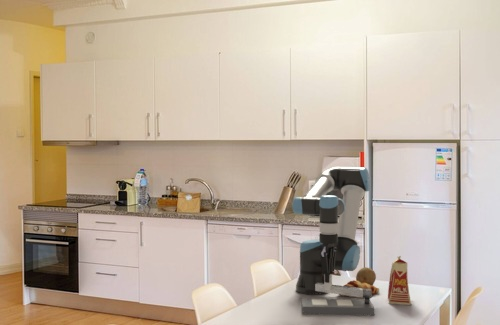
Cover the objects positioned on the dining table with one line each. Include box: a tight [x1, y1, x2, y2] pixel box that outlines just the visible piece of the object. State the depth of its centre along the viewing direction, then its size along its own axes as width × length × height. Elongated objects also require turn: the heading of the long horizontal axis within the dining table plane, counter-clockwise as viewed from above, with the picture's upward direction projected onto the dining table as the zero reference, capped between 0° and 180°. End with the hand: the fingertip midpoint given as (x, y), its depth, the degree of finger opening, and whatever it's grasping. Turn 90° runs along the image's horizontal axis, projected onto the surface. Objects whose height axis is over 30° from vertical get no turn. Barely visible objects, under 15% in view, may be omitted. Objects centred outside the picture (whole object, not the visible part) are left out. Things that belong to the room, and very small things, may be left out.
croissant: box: [338, 279, 380, 298], centre depth 251 cm, size 21×10×8 cm, turn 107°
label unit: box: [301, 297, 376, 316], centre depth 226 cm, size 12×28×5 cm, turn 87°
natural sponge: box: [355, 267, 377, 286], centre depth 261 cm, size 9×9×10 cm
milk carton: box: [387, 255, 412, 306], centre depth 240 cm, size 9×9×20 cm
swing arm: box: [315, 283, 373, 299], centre depth 231 cm, size 4×24×3 cm, turn 60°
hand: (328, 289), depth 232 cm, fingers closed
